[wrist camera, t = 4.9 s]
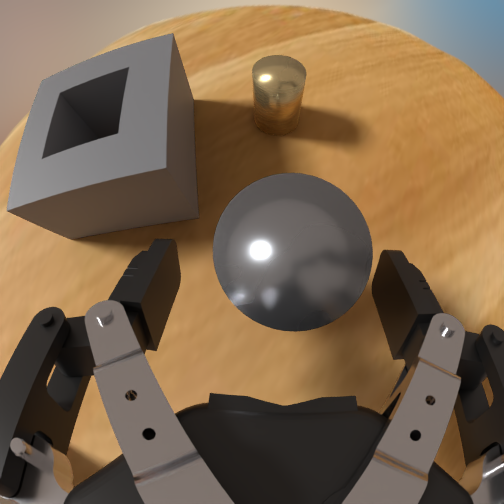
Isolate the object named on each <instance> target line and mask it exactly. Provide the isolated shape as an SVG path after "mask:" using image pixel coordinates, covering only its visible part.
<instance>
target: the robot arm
mask: <svg viewBox="0 0 504 504" xmlns="http://www.w3.org/2000/svg"><path fill="white" fill-rule="evenodd" d="M180 281H181V272H180V265H179V259H178V252H177V245H176V242H175V240H174V239H155V240H154V241H153V243H152V245H151V246H150V248H149V250H148V251H142V252H140V253H139V254H138V255H137V256H135V257H134V258H133V259H132V261H131V262H130V264H129V265H128V269H126V270H125V272H124V274H123V276H122V277H121V279H120V280H119V282H118V284H117V285H116V287H115V289H114V290H113V292H112V294H111V295H110V297H109V299H108V300H106V301H102V302H99V303H97V304H95V305H93V306H92V307H91V308H90V309H89V310H88V311H87V313H86V315H85V316H81V317H72V318H66V317H65V315H64V313H63V311H62V310H61V309H60V308H57V307H49V308H46V309H43V310H42V311H40V312H39V313H38V314H37V315H36V316H35V317H34V318H33V320H32V321H31V323H30V325H29V326H28V328H27V330H26V332H25V333H24V335H23V337H22V339H21V340H20V342H19V344H18V346H17V348H16V349H15V351H14V353H13V355H12V357H11V359H10V361H9V363H8V365H7V367H6V369H5V371H4V373H3V375H2V377H1V379H0V497H2V498H4V499H7V500H9V501H11V502H14V503H16V504H504V331H503V330H502V329H501V328H499V327H498V326H495V325H487V326H485V327H484V328H483V330H482V331H481V333H480V334H476V333H471V332H467V331H465V330H464V327H463V325H462V324H461V322H460V321H459V320H458V319H456V318H455V317H453V316H452V315H449V314H446V313H443V311H442V309H441V307H440V305H439V303H438V301H437V299H436V298H435V296H434V294H433V292H432V290H430V287H429V285H428V283H427V282H426V280H425V278H424V276H423V274H422V273H421V271H420V270H419V269H417V268H416V267H415V266H414V265H413V264H411V263H409V262H408V260H407V258H406V257H405V255H404V253H403V252H402V251H399V250H383V251H382V253H381V255H380V259H379V262H378V265H377V269H376V272H375V275H374V278H373V282H372V296H373V299H374V302H375V304H376V307H377V310H378V313H379V316H380V319H381V322H382V325H383V328H384V331H385V334H386V338H387V341H388V344H389V347H390V351H391V354H392V357H393V360H397V359H404V360H405V365H404V366H403V368H402V370H401V372H400V374H399V376H398V378H397V380H396V382H395V384H394V386H393V388H392V390H391V392H390V394H389V396H388V398H387V400H386V401H385V403H384V405H383V406H382V408H381V410H380V411H379V412H376V411H373V410H371V409H369V408H365V407H362V406H357V401H356V396H344V397H322V398H318V399H314V400H310V401H306V402H301V403H297V404H293V405H288V406H282V405H278V404H274V403H270V402H266V401H262V400H258V399H255V398H251V397H248V396H237V395H225V394H214V393H210V397H209V403H202V404H198V405H194V406H191V407H188V408H185V409H183V410H181V411H179V412H177V413H175V414H174V412H173V410H172V408H171V406H170V405H169V403H168V401H167V399H166V397H165V395H164V393H163V392H162V390H161V388H160V386H159V384H158V382H157V380H156V378H155V376H154V374H153V372H152V370H151V368H150V366H149V364H148V361H147V359H146V357H145V355H144V354H145V352H146V349H147V350H153V351H157V348H158V345H159V342H160V340H161V337H162V334H163V331H164V328H165V325H166V322H167V320H168V317H169V314H170V311H171V308H172V306H173V303H174V300H175V297H176V295H177V292H178V289H179V286H180ZM54 364H55V366H56V367H55V369H54V372H53V374H52V376H51V379H50V381H49V383H48V386H47V380H48V377H49V375H50V373H51V370H52V368H53V366H54ZM91 375H94V376H95V379H96V382H97V385H98V389H99V392H100V395H101V398H102V401H103V404H104V407H105V409H106V412H107V415H108V418H109V420H110V423H111V426H112V428H113V431H114V433H115V436H116V438H117V440H118V443H119V445H120V448H121V450H122V452H123V454H121V455H120V456H119V457H117V458H116V459H115V460H113V461H112V462H111V463H109V464H108V465H106V466H105V467H103V468H102V469H101V470H99V471H98V472H96V473H95V474H93V475H92V476H91V477H89V478H88V479H86V480H85V481H83V482H82V483H80V484H79V485H77V486H76V487H73V484H72V481H73V478H74V476H73V473H72V467H71V463H70V461H69V459H68V458H67V457H66V454H67V450H68V447H69V443H70V440H71V436H72V433H73V429H74V426H75V423H76V419H77V416H78V413H79V410H80V407H81V404H82V401H83V398H84V395H85V392H86V389H87V386H88V383H89V381H90V378H91ZM486 377H488V380H489V383H490V385H491V388H492V391H493V395H494V399H493V403H492V405H491V407H490V408H489V404H488V401H487V398H486V395H485V392H484V389H483V386H482V382H483V381H484V380H485V378H486ZM453 407H454V409H455V414H456V418H457V422H458V426H459V431H460V436H461V441H462V446H463V452H464V457H465V464H466V468H465V471H464V473H463V477H462V478H461V479H460V480H459V482H457V481H455V480H454V479H453V478H452V477H451V476H450V475H449V474H448V473H446V472H445V471H444V470H443V469H442V468H441V467H440V466H439V465H437V464H436V463H435V462H434V458H435V456H436V454H437V451H438V449H439V446H440V444H441V441H442V439H443V436H444V434H445V431H446V428H447V425H448V423H449V420H450V417H451V414H452V411H453Z"/></svg>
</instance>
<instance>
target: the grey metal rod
mask: <svg viewBox="0 0 504 504" xmlns="http://www.w3.org/2000/svg"><path fill="white" fill-rule="evenodd" d="M372 259H373V249H372V241H371V236H370V232H369V228H368V226H367V223H366V221H365V219H364V217H363V215H362V213H361V212H360V210H359V209H358V207H357V206H356V205H355V203H354V202H353V201H352V200H351V199H350V198H349V197H348V196H347V195H346V194H345V193H344V192H343V191H342V190H340V189H339V188H337V187H336V186H334V185H333V184H331V183H329V182H327V181H325V180H323V179H320V178H318V177H315V176H311V175H306V174H300V173H282V174H276V175H271V176H268V177H265V178H262V179H260V180H257V181H255V182H253V183H252V184H250V185H248V186H247V187H245V188H244V189H243V190H242V191H240V192H239V193H238V194H237V195H236V196H235V197H234V198H233V199H232V200H231V201H230V203H229V204H228V205H227V207H226V208H225V210H224V211H223V213H222V215H221V217H220V219H219V222H218V224H217V227H216V231H215V235H214V241H213V260H214V266H215V271H216V274H217V277H218V280H219V282H220V284H221V286H222V289H223V290H224V292H225V293H226V295H227V296H228V298H229V299H230V300H231V302H232V303H233V304H234V305H235V306H236V307H237V308H238V309H239V310H240V311H241V312H242V313H243V314H245V315H246V316H248V317H249V318H251V319H252V320H254V321H256V322H258V323H260V324H262V325H264V326H267V327H270V328H273V329H278V330H283V331H307V330H311V329H315V328H319V327H322V326H324V325H327V324H329V323H331V322H333V321H334V320H336V319H338V318H339V317H340V316H342V315H343V314H345V313H346V312H347V311H348V310H349V309H350V308H351V307H352V306H353V305H354V304H355V302H356V301H357V300H358V298H359V297H360V295H361V294H362V292H363V290H364V288H365V286H366V284H367V281H368V279H369V275H370V272H371V267H372Z"/></svg>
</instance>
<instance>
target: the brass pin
mask: <svg viewBox="0 0 504 504" xmlns="http://www.w3.org/2000/svg"><path fill="white" fill-rule="evenodd" d="M252 76H253V98H254V119H255V123H256V125H257V127H258V128H259V129H260V130H261V131H263V132H264V133H266V134H269V135H274V136H281V135H286V134H288V133H290V132H292V131H293V130H294V129H295V128H296V127H297V124H298V120H299V114H300V109H301V103H302V97H303V91H304V85H305V79H306V70H305V68H304V66H303V65H302V64H301V63H300V62H299V61H297V60H295V59H293V58H291V57H288V56H282V55H272V56H267V57H264V58H262V59H260V60H259V61H257V62H256V63H255V64H254V66H253V69H252Z"/></svg>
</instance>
